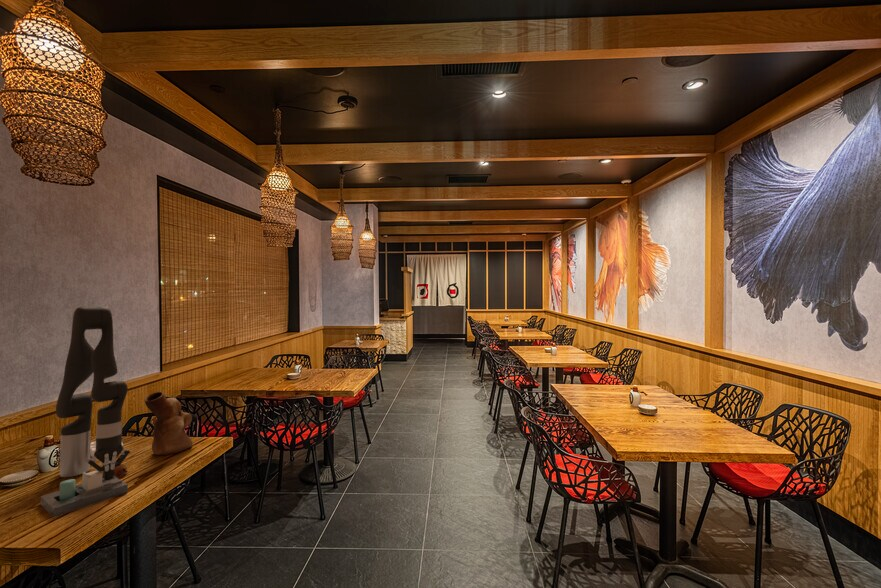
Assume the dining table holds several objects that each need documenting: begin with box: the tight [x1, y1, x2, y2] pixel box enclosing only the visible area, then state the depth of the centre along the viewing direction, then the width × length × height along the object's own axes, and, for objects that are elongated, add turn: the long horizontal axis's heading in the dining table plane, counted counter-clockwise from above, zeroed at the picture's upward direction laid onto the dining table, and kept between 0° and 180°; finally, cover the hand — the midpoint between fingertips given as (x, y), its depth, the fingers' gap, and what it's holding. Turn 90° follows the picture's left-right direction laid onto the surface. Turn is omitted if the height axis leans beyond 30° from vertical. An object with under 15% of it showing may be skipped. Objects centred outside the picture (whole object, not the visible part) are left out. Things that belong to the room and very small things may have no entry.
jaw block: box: [81, 469, 102, 491], centre depth 141 cm, size 6×4×6 cm, turn 57°
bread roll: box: [96, 463, 129, 479], centre depth 156 cm, size 10×10×8 cm
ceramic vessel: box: [143, 391, 194, 456], centre depth 183 cm, size 16×22×30 cm
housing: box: [40, 476, 129, 519], centre depth 139 cm, size 16×20×4 cm
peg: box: [59, 478, 76, 501], centre depth 135 cm, size 4×4×8 cm
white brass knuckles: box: [90, 440, 124, 458], centre depth 187 cm, size 3×18×15 cm
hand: (108, 479), depth 145 cm, fingers closed
